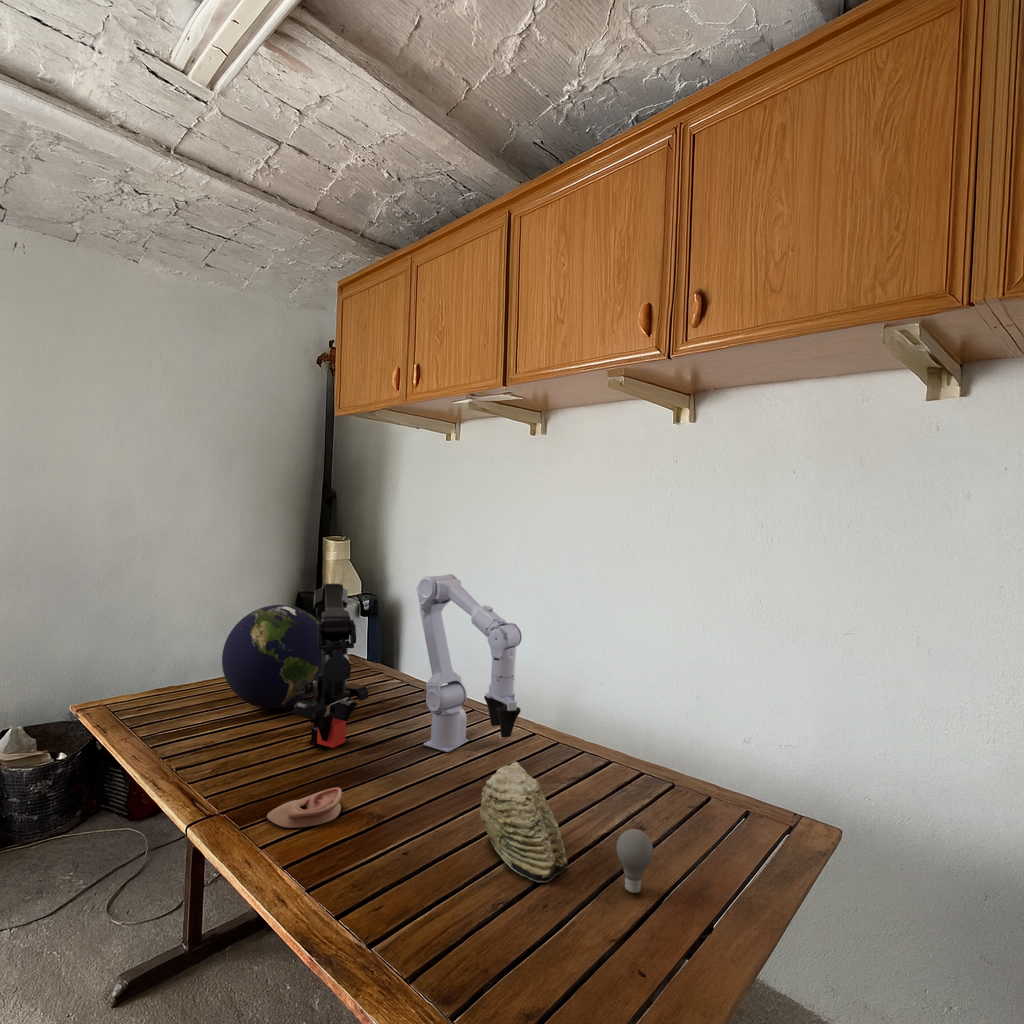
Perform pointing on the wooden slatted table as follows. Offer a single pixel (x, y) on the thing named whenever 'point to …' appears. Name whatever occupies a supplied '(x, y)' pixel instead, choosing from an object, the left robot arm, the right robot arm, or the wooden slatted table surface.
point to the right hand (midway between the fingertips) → (500, 730)
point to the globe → (272, 655)
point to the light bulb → (634, 857)
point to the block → (334, 734)
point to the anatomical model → (308, 810)
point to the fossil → (522, 824)
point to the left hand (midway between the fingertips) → (331, 737)
